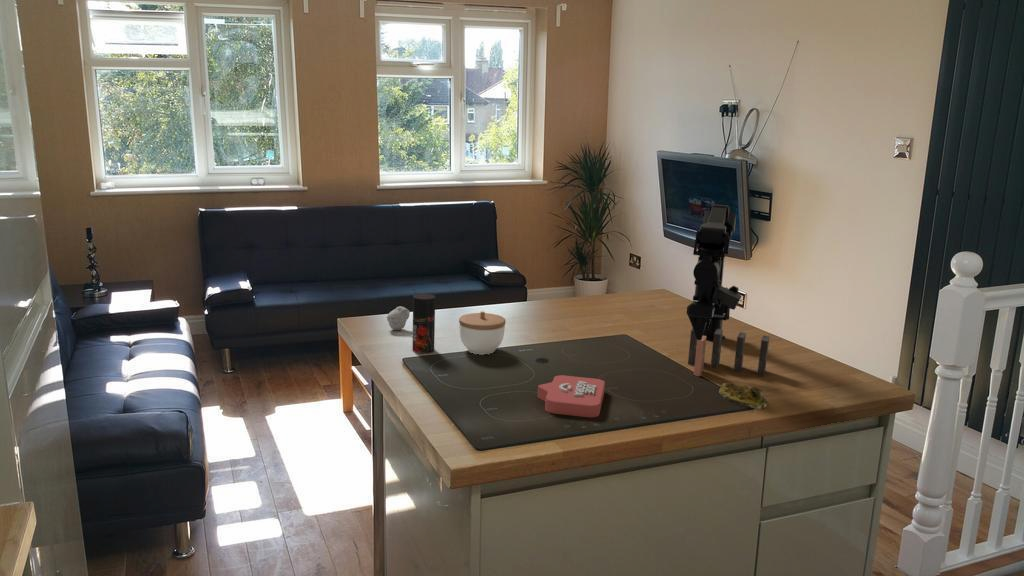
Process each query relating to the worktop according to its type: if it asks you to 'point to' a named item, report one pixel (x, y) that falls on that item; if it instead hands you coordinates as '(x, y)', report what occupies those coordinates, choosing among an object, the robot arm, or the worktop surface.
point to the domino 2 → (700, 356)
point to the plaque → (573, 396)
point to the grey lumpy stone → (398, 318)
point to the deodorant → (423, 323)
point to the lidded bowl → (481, 332)
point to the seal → (744, 395)
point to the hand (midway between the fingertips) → (702, 335)
